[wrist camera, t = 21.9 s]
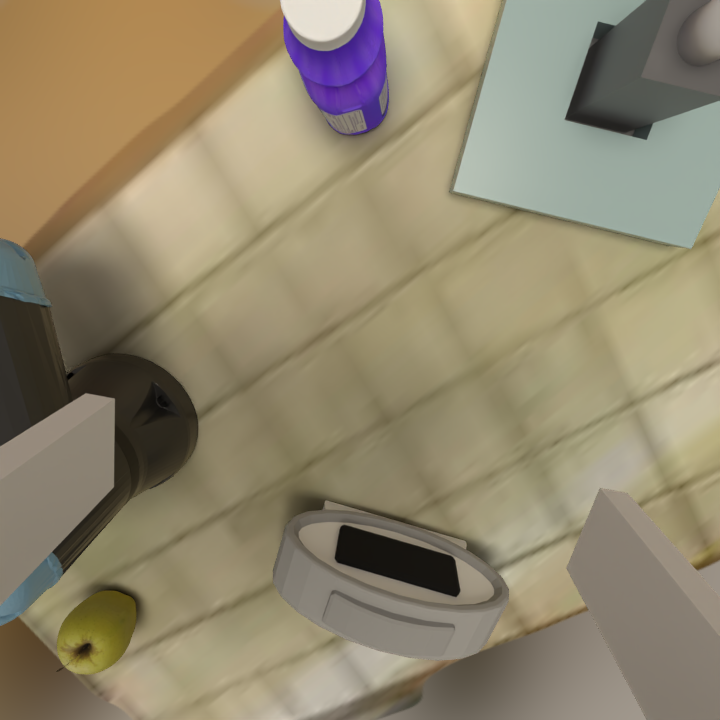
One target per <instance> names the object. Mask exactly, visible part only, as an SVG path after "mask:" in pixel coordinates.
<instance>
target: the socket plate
mask: <svg viewBox="0 0 720 720" xmlns="http://www.w3.org/2000/svg"><path fill="white" fill-rule="evenodd" d="M644 1H646V0H502V3H501V7H500V10H499V14H498V18H497V21H496V25H495V29H494V32H493V36H492V39H491V43H490V47H489V50H488V54H487V57H486V61H485V65H484V68H483V72H482V76H481V79H480V83H479V86H478V90H477V94H476V97H475V101H474V104H473V108H472V112H471V115H470V119H469V122H468V126H467V130H466V133H465V137H464V141H463V144H462V148H461V151H460V155H459V159H458V162H457V166H456V169H455V173H454V177H453V180H452V184H451V188H450V191H449V192H450V193H454V194H458V195H462V196H466V197H470V198H474V199H479V200H483V201H487V202H491V203H495V204H499V205H503V206H507V207H511V208H516V209H520V210H524V211H528V212H532V213H536V214H540V215H544V216H549V217H553V218H557V219H561V220H565V221H569V222H573V223H577V224H581V225H586V226H590V227H594V228H598V229H602V230H606V231H610V232H614V233H618V234H623V235H627V236H631V237H635V238H639V239H643V240H647V241H651V242H655V243H660V244H664V245H668V246H674V247H681V248H689V249H691V248H692V246H693V244H694V242H695V240H696V238H697V235H698V233H699V231H700V229H701V227H702V225H703V222H704V220H705V218H706V216H707V214H708V212H709V210H710V207H711V205H712V203H713V201H714V199H715V197H716V194H717V192H718V190H719V188H720V101H717V102H714V103H711V104H708V105H705V106H702V107H699V108H696V109H694V110H691V111H688V112H685V113H682V114H679V115H676V116H673V117H670V118H667V119H664V120H661V121H658V122H655V123H652V124H649V125H646V126H643V127H641V128H638V129H635V130H632V131H629V132H626V133H622V132H618V131H614V130H610V129H605V128H601V127H597V126H593V125H589V124H585V123H581V122H577V121H573V120H568V119H565V117H566V114H567V111H568V108H569V105H570V102H571V99H572V96H573V93H574V90H575V87H576V84H577V82H578V79H579V76H580V73H581V70H582V67H583V64H584V61H585V58H586V55H587V52H588V49H589V48H590V47H591V46H592V45H593V44H595V43H596V42H597V41H598V40H599V39H600V38H602V37H603V36H604V35H605V34H606V33H608V32H609V31H610V30H611V29H612V28H614V27H615V26H616V25H617V24H618V23H620V22H621V21H622V20H623V19H624V18H625V17H627V16H628V15H629V14H630V13H631V12H633V11H634V10H635V9H636V8H637V7H639V6H640V5H641V4H642V3H643V2H644Z"/></svg>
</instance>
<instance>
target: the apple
mask: <svg viewBox="0 0 720 720" xmlns="http://www.w3.org/2000/svg"><path fill="white" fill-rule="evenodd" d="M135 624H136V604H135V601H134V600H133V598H132V597H130V596H128V595H124V594H122V593H120V592H118V591H101V592H98V593H95V594H94V595H92V596H90V597H89V598H87V599H86V600H84V601H83V602H82V603H80V604H79V605H78V606H77V607H76V608H74V609H73V611H72V612H71V613H70V614H69V615H68V616H67V617H66V619H65V620H64V622H63V623H62V625H61V628H60V630H59V634H58V639H57V651H58V655H59V658H60V660H61V662H62V664H63V665H64V667H66V668H67V669H68V670H70V671H72V672H74V673H77V674H94V673H98V672H101V671H103V670H105V669H107V668H109V667H110V666H112V665H113V664H114V663H116V662H117V661H118V660H119V659H120V658H121V656H122V655H123V654H124V653H125V651H126V649H127V647H128V645H129V643H130V640H131V637H132V634H133V632H134V629H135ZM64 667H63V668H64ZM63 668H61V669H63ZM61 669H59V670H57V672H58V671H60V670H61Z"/></svg>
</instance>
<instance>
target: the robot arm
mask: <svg viewBox="0 0 720 720" xmlns="http://www.w3.org/2000/svg"><path fill="white" fill-rule="evenodd" d="M50 307H52V305H51V302H50V301H49V300H48V299H47V298H46V296H45V293H44V291H43V288H42V285H41V281H40V278H39V275H38V272H37V269H36V266H35V263H34V261H33V259H32V257H31V256H30V254H29V253H28V252H27V251H26V250H25V249H24V248H22V247H21V246H19V245H18V244H16V243H14V242H11V241H8V240H5V239H1V238H0V626H1V625H3V624H5V623H7V622H9V621H11V620H13V619H15V618H16V617H18V616H19V615H20V614H22V613H23V612H24V611H25V610H26V609H27V608H28V607H29V606H30V605H32V604H33V603H34V602H35V601H36V600H37V599H38V598H39V597H40V596H41V595H42V594H43V593H44V592H45V591H46V590H47V589H49V588H51V587H52V586H54V585H55V584H56V583H57V582H58V581H59V580H60V578H61V576H62V575H63V574H64V573H65V572H66V571H67V570H68V568H69V567H70V566H71V565H72V564H73V563H74V562H75V560H76V559H77V558H78V557H79V556H80V555H81V554H82V553H83V551H84V550H85V549H86V548H87V547H88V546H89V545H90V543H91V542H92V541H93V540H94V539H95V538H96V537H97V536H98V534H99V533H100V532H101V531H102V530H103V529H104V528H105V526H106V525H107V524H108V523H109V522H110V521H111V520H112V519H113V517H114V516H115V515H116V514H117V513H118V512H119V511H120V510H121V508H122V507H123V506H124V505H125V504H126V503H127V502H128V501H129V500H130V499H131V498H133V497H135V496H137V495H138V494H140V493H142V492H144V491H145V490H147V489H151V488H154V487H156V486H158V485H160V484H162V483H164V482H166V481H167V480H169V479H170V478H171V477H172V476H174V475H175V474H176V473H177V472H178V471H179V470H180V468H181V467H182V466H183V465H184V464H185V462H186V461H187V460H188V459H189V457H190V456H191V454H192V452H193V450H194V447H195V444H196V440H197V433H198V426H197V418H196V414H195V411H194V408H193V405H192V403H191V401H190V399H189V397H188V395H187V394H186V392H185V391H184V389H183V388H182V387H181V385H180V384H179V383H178V382H177V381H176V380H175V379H174V378H173V377H172V376H171V375H170V374H169V373H167V372H166V371H165V370H163V369H162V368H160V367H159V366H157V365H155V364H154V363H152V362H150V361H147V360H145V359H142V358H139V357H136V356H132V355H126V354H108V355H102V356H98V357H95V358H93V359H91V360H88V361H86V362H84V363H82V364H80V365H78V366H76V367H75V368H73V369H72V370H70V371H69V372H68V373H66V371H65V367H64V363H63V359H62V355H61V351H60V347H59V343H58V339H57V335H56V331H55V327H54V323H53V319H52V315H51V311H50ZM567 570H568V572H569V574H570V576H571V578H572V580H573V582H574V584H575V585H576V587H577V589H578V591H579V593H580V595H581V597H582V599H583V601H584V602H585V604H586V606H587V608H588V610H589V612H590V613H591V616H592V617H593V619H594V621H595V623H596V625H597V627H598V629H599V631H600V632H601V635H602V636H603V638H604V640H605V642H606V644H607V646H608V648H609V649H610V651H611V653H612V655H613V657H614V659H615V661H616V663H617V665H618V667H619V668H620V670H621V672H622V674H623V676H624V678H625V680H626V682H627V683H628V685H629V687H630V689H631V691H632V693H633V695H634V697H635V699H636V700H637V702H638V704H639V706H640V708H641V710H642V712H643V714H644V716H645V717H646V719H647V720H720V596H719V595H718V594H717V593H716V592H715V591H714V590H713V589H712V587H711V586H710V585H709V584H708V583H707V582H706V581H705V580H704V578H703V577H702V576H701V575H700V574H699V573H698V572H697V571H696V569H695V568H694V567H693V566H692V565H691V564H690V563H689V562H688V560H687V559H686V558H685V557H684V556H683V555H682V554H681V553H680V551H679V550H678V549H677V548H676V547H675V546H674V545H673V544H672V542H671V541H670V540H669V539H668V538H667V537H666V536H665V535H664V533H663V532H662V531H661V530H660V529H659V528H658V527H657V526H656V524H655V523H654V522H653V521H652V520H651V519H650V518H649V517H648V515H647V514H646V513H645V512H644V511H643V510H642V509H641V508H640V506H639V505H638V504H637V503H636V502H635V501H634V500H633V499H632V497H631V496H630V495H629V494H628V493H625V492H619V491H614V490H609V489H603V488H600V489H599V492H598V494H597V496H596V499H595V501H594V503H593V506H592V508H591V511H590V513H589V515H588V518H587V520H586V523H585V525H584V527H583V530H582V532H581V534H580V537H579V539H578V542H577V544H576V546H575V549H574V551H573V554H572V556H571V558H570V561H569V563H568V565H567Z"/></svg>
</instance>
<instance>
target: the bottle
mask: <svg viewBox="0 0 720 720" xmlns="http://www.w3.org/2000/svg"><path fill="white" fill-rule="evenodd" d="M280 3H281V8H282V11H283V14H284V41H285V44H286V48H287V51H288V53H289V55H290V57H291V59H292V61H293V63H294V64H295V65H296V67H297V68H298V69H299V73H300V75H301V78H302V81H303V83H304V86H305V88H306V90H307V92H308V94H309V96H310V97H311V99H312V100H313V102H314V103H315V104H316V105H317V106H318V108H319V109H320V110H321V112H322V113H323V115H324V116H325V118H326V120H327V121H328V123H329V125H330V126H331V127H332V128H333V129H334V130H336V131H337V132H339V133H341V134H354V135H357V134H360V133H364V132H367V131H369V130H370V129H373V128H375V127H376V126H378V125H379V124H380V123H381V122H382V120H383V119H384V117H385V115H386V113H387V109H388V103H389V89H388V80H387V74H386V66H387V65H386V50H385V42H384V35H383V15H382V9H381V6H380V2H379V0H280Z"/></svg>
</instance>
